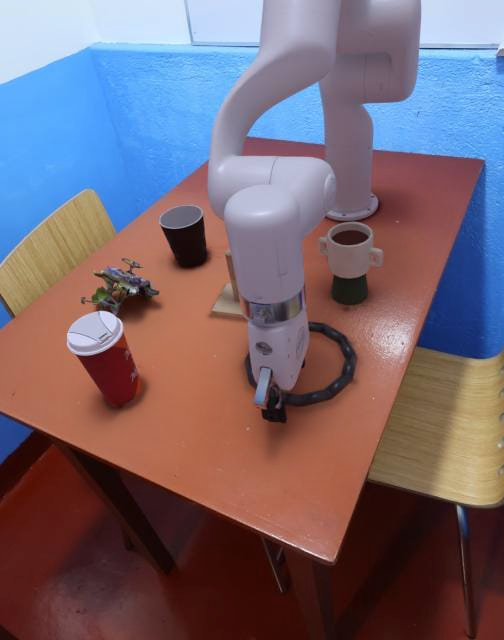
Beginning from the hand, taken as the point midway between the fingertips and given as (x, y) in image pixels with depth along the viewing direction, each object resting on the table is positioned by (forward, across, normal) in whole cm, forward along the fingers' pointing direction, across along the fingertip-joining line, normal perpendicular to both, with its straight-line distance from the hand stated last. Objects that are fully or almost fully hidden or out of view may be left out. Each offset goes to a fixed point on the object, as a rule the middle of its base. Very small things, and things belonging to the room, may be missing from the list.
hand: (285, 391), depth 65 cm
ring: (+2, +8, 0) cm, 8 cm away
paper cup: (+3, -3, +25) cm, 25 cm away
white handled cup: (+3, +24, -4) cm, 25 cm away
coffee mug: (+3, +33, +29) cm, 44 cm away
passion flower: (+3, +15, +35) cm, 38 cm away
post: (+3, +20, +14) cm, 24 cm away
